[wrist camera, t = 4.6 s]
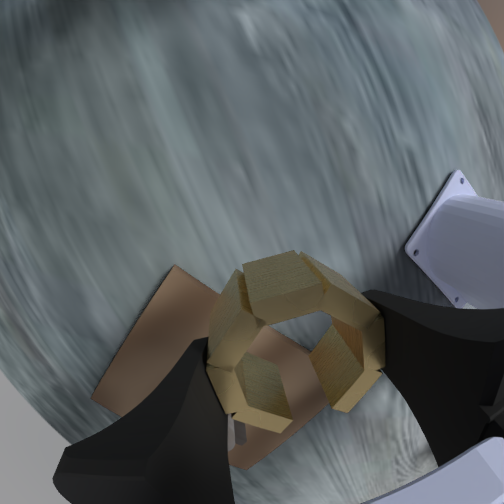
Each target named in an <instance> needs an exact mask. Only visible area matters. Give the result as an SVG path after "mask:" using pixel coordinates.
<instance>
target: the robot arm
mask: <svg viewBox="0 0 504 504" xmlns="http://www.w3.org/2000/svg"><path fill="white" fill-rule="evenodd" d="M460 178H461V183H460ZM415 250H416V253H415V254H414V251H415ZM405 252H406V253H407V254H408V256H409V257H410V258H411V259H412V260H413V261H414V262H415V263H416V264H417V265H418V266H419V267H420V268H421V269H422V270H423V271H424V272H425V274H426V275H427V276H428V277H429V278H430V279H431V280H432V281H433V282H434V283H435V285H436V286H437V287H438V288H439V289H440V290H441V291H442V292H443V294H444V295H445V296H446V297H447V298H448V299H449V301H450V302H451V303H452V304H453V305H454V306H455V308H451V307H443V306H437V305H432V304H427V303H422V302H418V301H414V300H410V299H407V298H403V297H400V296H396V295H392V294H389V293H385V292H382V291H377V290H369V291H366V292H363V293H361V294H362V295H363V296H364V297H365V298H366V299H367V300H368V301H369V302H370V303H372V304H373V305H374V306H375V307H376V308H377V309H378V310H379V311H380V315H381V316H382V317H383V318H384V327H385V367H383V368H381V369H382V370H383V371H384V373H385V374H386V375H387V377H388V378H389V379H390V380H391V382H392V383H393V384H394V385H395V387H396V388H397V389H398V391H399V392H400V393H401V395H402V396H403V397H404V399H405V400H406V402H407V404H408V405H409V407H410V409H411V411H412V412H413V414H414V416H415V418H416V419H417V421H418V423H419V425H420V427H421V429H422V431H423V433H424V435H425V437H426V439H427V441H428V443H429V446H430V448H431V450H432V452H433V454H434V457H435V459H436V462H437V464H438V468H437V469H435V470H433V471H431V472H429V473H427V474H426V475H424V476H422V477H420V478H418V479H416V480H414V481H412V482H410V483H408V484H406V485H404V486H401V487H399V488H397V489H395V490H393V491H390V492H388V493H386V494H383V495H381V496H379V497H376V498H374V499H371V500H369V501H366V502H363V503H361V504H504V202H502V201H498V200H493V199H488V198H483V197H478V196H477V194H476V193H475V191H474V190H473V188H472V187H471V185H470V184H469V182H468V181H467V179H466V178H465V176H464V175H463V174H462V172H461V171H460V170H454V171H453V172H452V174H451V176H450V177H449V179H448V181H447V182H446V184H445V186H444V187H443V189H442V190H441V192H440V194H439V195H438V197H437V198H436V200H435V202H434V203H433V205H432V206H431V208H430V209H429V211H428V212H427V214H426V216H425V217H424V219H423V220H422V222H421V223H420V224H419V226H418V227H417V229H416V230H415V232H414V233H413V235H412V236H411V238H410V239H409V240H408V242H407V243H406V245H405ZM455 298H456V299H455ZM466 302H467V303H469V304H471V305H472V306H474V307H475V308H477V309H462V308H463V307H464V305H465V304H466ZM208 339H209V337H204V338H200V339H195V340H193V341H192V342H191V344H190V345H189V346H188V348H187V349H186V351H185V352H184V353H183V355H182V356H181V357H180V359H179V360H178V361H177V363H176V364H175V365H174V367H173V368H172V369H171V371H170V372H169V373H168V374H167V375H166V377H165V378H164V379H163V380H162V381H161V382H160V384H159V385H158V386H157V387H156V388H155V389H154V390H153V391H152V392H151V393H150V394H149V395H148V396H147V397H146V398H145V399H144V400H143V401H142V402H141V403H140V404H138V405H137V406H136V407H135V408H133V409H132V410H131V411H130V412H128V413H127V414H126V415H124V416H123V417H122V418H120V419H119V420H118V421H116V422H115V423H113V424H111V425H110V426H108V427H107V428H105V429H103V430H102V431H100V432H98V433H96V434H94V435H93V436H91V437H88V438H86V439H84V440H82V441H80V442H77V443H75V444H73V445H71V446H68V447H66V448H65V450H64V452H63V455H62V457H61V459H60V462H59V464H58V467H57V469H56V471H55V474H54V476H53V483H54V485H55V487H56V489H57V490H58V492H59V493H60V494H61V495H62V496H63V497H64V498H65V499H66V500H68V501H69V502H70V503H71V504H235V502H234V496H233V489H232V483H231V476H230V468H229V460H228V414H226V413H225V411H224V409H223V407H222V405H221V403H220V400H219V398H218V396H217V394H216V392H215V389H214V387H213V385H212V383H211V380H210V378H209V376H208V373H207V371H206V366H207V353H208Z"/></svg>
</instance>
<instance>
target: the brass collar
mask: <svg viewBox="0 0 504 504" xmlns="http://www.w3.org/2000/svg"><path fill="white" fill-rule="evenodd" d="M242 266H243V271H244V273H243V272H241V271H239V270H237V269H235V271H234V273H233V274H232V276H231V278H230V279H229V281H228V283H227V284H226V286H225V288H224V289H223V291H222V293H221V294H220V296H219V298H218V299H217V301H216V303H215V304H214V306H213V308H212V309H211V312H210V322H209V336H208V337H209V339H208V353H207V366H206V371H207V373H208V376H209V378H210V380H211V383H212V385H213V387H214V389H215V392H216V394H217V396H218V398H219V400H220V403H221V405H222V407H223V409H224V411H225V413H226V414H229V413H231V419H234V420H237V421H240V422H243V423H246V424H250V425H253V426H256V427H259V428H263V429H266V430H270V431H273V432H277V433H281V432H282V431H283V430H284V429H285V428H286V427H287V426H288V425H289V424H290V423H291V422H292V421H293V418H292V414H291V411H290V407H289V404H288V400H287V397H286V393H285V390H284V386H283V383H282V379H281V376H280V372H279V369H278V365H276V364H274V363H271V362H269V361H266V360H264V359H262V358H259V357H257V356H255V355H252V354H250V353H248V352H246V351H247V350H248V348H249V347H250V345H251V344H252V342H253V341H254V339H255V338H256V337H257V335H258V334H259V332H260V331H261V329H262V328H263V327H264V326H267V325H271V324H275V323H278V322H282V321H285V320H289V319H292V318H296V317H299V316H303V315H306V314H309V313H313V312H316V311H319V310H321V311H323V312H325V313H327V314H329V315H331V318H332V325H331V326H330V328H329V329H328V330H327V332H326V333H325V335H324V336H323V337H322V339H321V340H320V341H319V343H318V344H317V345H316V347H315V348H314V349H313V351H312V352H311V353H310V355H309V356H308V357H309V359H310V361H311V363H312V365H313V368H314V370H315V372H316V374H317V377H318V379H319V381H320V383H321V386H322V388H323V390H324V392H325V394H326V397H327V399H328V401H329V403H330V406H331V408H332V409H335V410H339V411H342V412H346V413H348V412H349V411H350V410H351V409H352V408H353V407H354V406H355V405H356V403H357V402H358V401H359V400H360V399H361V398H362V397H363V396H364V394H365V393H366V392H367V391H368V390H369V389H370V388H371V386H372V385H373V384H374V383H375V382H376V381H377V379H378V378H379V377H380V376H381V374H382V372H381V371H380V368H383V367H385V327H384V318H383V317H382V316H381V315H380V311H379V310H378V309H377V308H376V307H375V306H374V305H373V304H372V303H370V302H369V301H368V300H367V299H366V298H365V297H364V296H363V295H362V294H361V293H360V292H359V291H358V290H357V289H356V288H355V287H353V286H352V285H351V284H350V283H349V282H348V281H347V280H346V279H345V278H344V277H343V276H342V275H340V274H339V273H337V272H335V271H334V270H332V269H330V268H329V267H327V266H325V265H324V264H322V263H320V262H319V261H317V260H315V259H314V258H312V257H310V256H309V255H307V254H305V253H303V252H302V251H301V252H300V254H299V255H297V253H296V252H295V251H294V250H293V251H289V252H285V253H282V254H278V255H274V256H271V257H267V258H263V259H259V260H256V261H252V262H248V263H245V264H242Z"/></svg>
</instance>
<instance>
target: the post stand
mask: <svg viewBox="0 0 504 504" xmlns="http://www.w3.org/2000/svg"><path fill="white" fill-rule="evenodd" d="M219 296H220V294H218V293H216V292H215V291H213V290H212V289H210V288H209V287H207V286H206V285H204V284H203V283H201V282H200V281H198V280H197V279H195V278H194V277H193V276H191V275H190V274H188V273H187V272H185V271H184V270H182V269H181V268H179V267H178V266H176V265H174V266H173V267H172V269H171V270H170V272H169V273H168V275H167V276H166V278H165V279H164V281H163V282H162V284H161V285H160V287H159V288H158V290H157V291H156V293H155V294H154V296H153V297H152V299H151V300H150V302H149V303H148V305H147V306H146V308H145V309H144V311H143V313H142V314H141V316H140V317H139V319H138V320H137V322H136V323H135V325H134V327H133V328H132V330H131V331H130V333H129V334H128V336H127V338H126V339H125V341H124V342H123V344H122V346H121V347H120V349H119V351H118V352H117V354H116V355H115V357H114V359H113V360H112V362H111V364H110V365H109V367H108V369H107V370H106V372H105V374H104V375H103V377H102V379H101V380H100V382H99V384H98V386H97V387H96V389H95V391H94V393H93V395H92V397H91V399H92V400H94V401H95V402H97V403H99V404H100V405H102V406H104V407H105V408H107V409H109V410H110V411H112V412H114V413H116V414H117V415H119V416H121V417H123V416H124V415H126V414H127V413H128V412H130V411H131V410H132V409H133V408H135V407H136V406H137V405H138V404H140V403H141V402H142V401H143V400H144V399H145V398H146V397H147V396H148V395H149V394H150V393H151V392H152V391H153V390H154V389H155V388H156V387H157V386H158V385H159V384H160V382H161V381H162V380H163V379H164V378H165V377H166V375H167V374H168V373H169V372H170V371H171V369H172V368H173V367H174V365H175V364H176V363H177V361H178V360H179V359H180V357H181V356H182V355H183V353H184V352H185V351H186V349H187V348H188V346H189V345H190V344H191V342H192V341H193V340H195V339H200V338H204V337H208V336H209V322H210V312H211V309H212V308H213V306H214V304H215V303H216V301H217V299H218V298H219ZM246 352H248V353H250V354H252V355H255V356H257V357H259V358H262V359H264V360H266V361H269V362H271V363H274V364H276V365H278V369H279V372H280V376H281V379H282V383H283V386H284V390H285V393H286V397H287V400H288V404H289V407H290V411H291V414H292V418H293V421H292V422H291V423H290V424H289V425H288V426H287V427H286V428H285V429H284V430H283V431H282V432H281V433H277V432H273V431H270V430H266V429H263V428H259V427H256V426H253V425H250V424H246V423H243V422H240V421H237V420H234V419H231V413H229V414H228V460H229V465H232V466H235V467H238V468H241V469H245V470H247V469H249V468H250V467H252V466H253V465H254V464H256V463H257V462H259V461H260V460H261V459H263V458H264V457H265V456H267V455H268V454H269V453H271V452H272V451H273V450H274V449H276V448H277V447H278V446H280V445H281V444H282V443H283V442H285V441H286V440H287V439H288V438H290V437H291V436H292V435H293V434H294V433H296V432H297V431H298V430H299V429H300V428H302V427H303V426H304V425H305V424H306V423H307V422H309V421H310V420H311V419H312V418H313V417H314V416H315V415H316V414H318V413H319V412H320V411H321V410H322V409H323V408H324V407H325V406H326V405H327V404H329V401H328V399H327V397H326V394H325V392H324V390H323V388H322V386H321V383H320V381H319V379H318V377H317V374H316V372H315V370H314V368H313V365H312V363H311V361H310V359H309V357H308V356H309V355H310V353H311V351H309V350H308V349H306V348H304V347H303V346H301V345H299V344H298V343H296V342H294V341H293V340H291V339H289V338H288V337H286V336H284V335H283V334H281V333H279V332H278V331H276V330H275V329H273V328H271V327H270V326H268V325H267V326H264V327H263V328H262V329H261V331H260V332H259V334H258V335H257V337H256V338H255V339H254V341H253V342H252V344H251V345H250V347H249V348H248V350H247V351H246Z"/></svg>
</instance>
